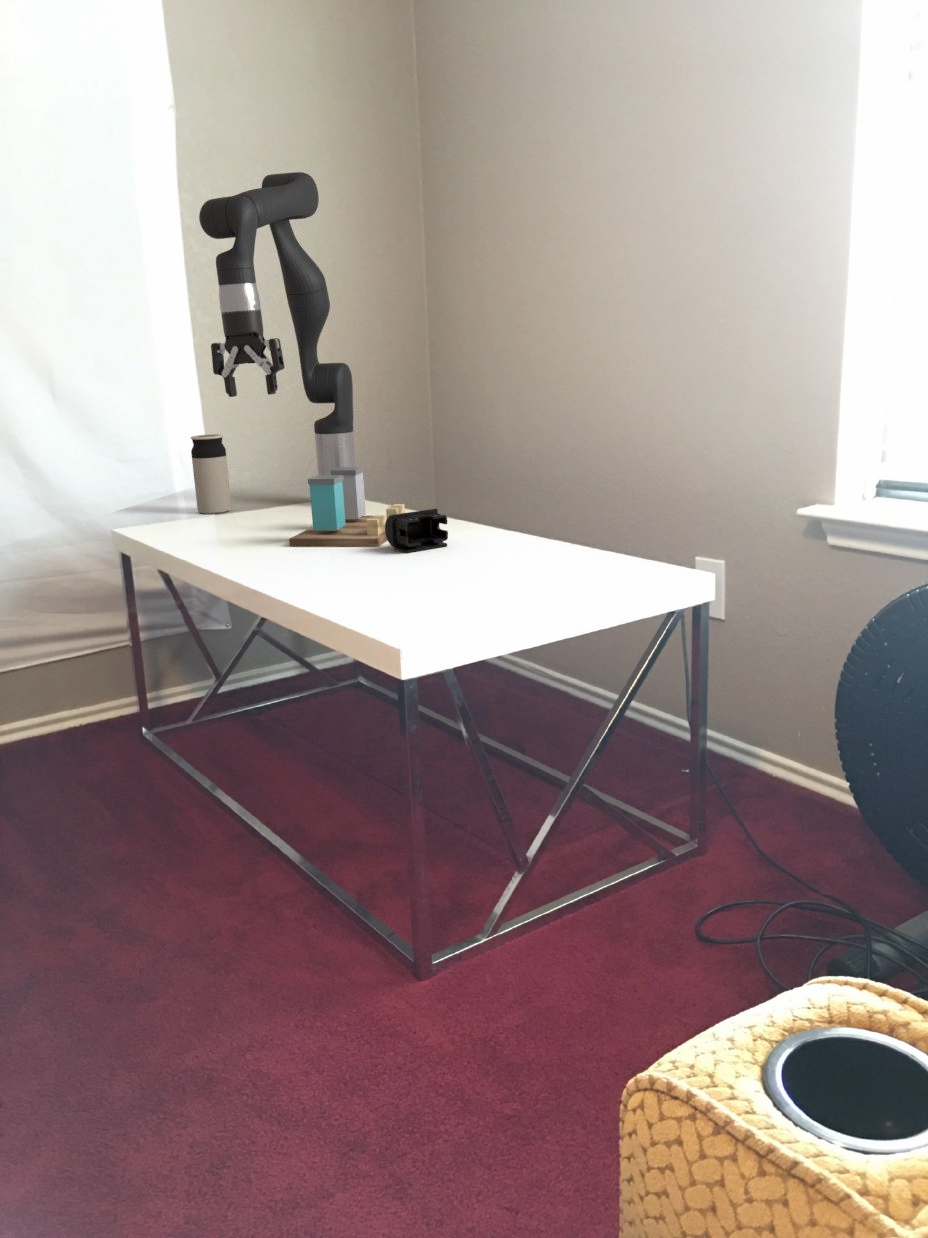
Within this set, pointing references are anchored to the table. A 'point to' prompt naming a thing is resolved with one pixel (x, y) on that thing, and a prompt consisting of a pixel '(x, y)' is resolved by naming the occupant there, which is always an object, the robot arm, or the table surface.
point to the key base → (350, 532)
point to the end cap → (416, 531)
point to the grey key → (352, 490)
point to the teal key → (327, 502)
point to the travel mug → (210, 474)
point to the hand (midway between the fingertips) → (252, 395)
